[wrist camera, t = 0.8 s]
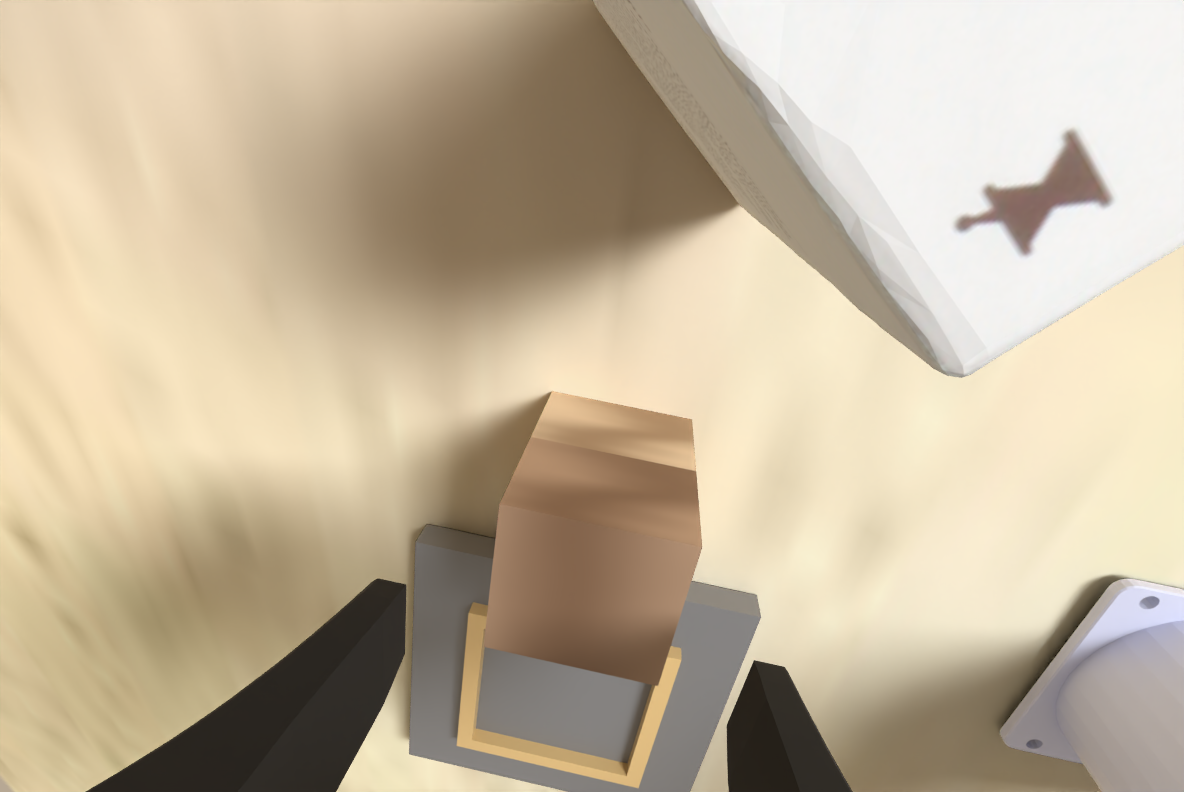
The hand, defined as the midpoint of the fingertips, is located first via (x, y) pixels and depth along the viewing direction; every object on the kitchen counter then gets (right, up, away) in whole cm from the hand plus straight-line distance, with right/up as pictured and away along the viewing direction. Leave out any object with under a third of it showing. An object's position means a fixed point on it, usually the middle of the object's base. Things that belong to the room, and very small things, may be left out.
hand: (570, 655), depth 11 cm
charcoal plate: (-1, -6, +11) cm, 12 cm away
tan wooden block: (+1, +3, +7) cm, 8 cm away
